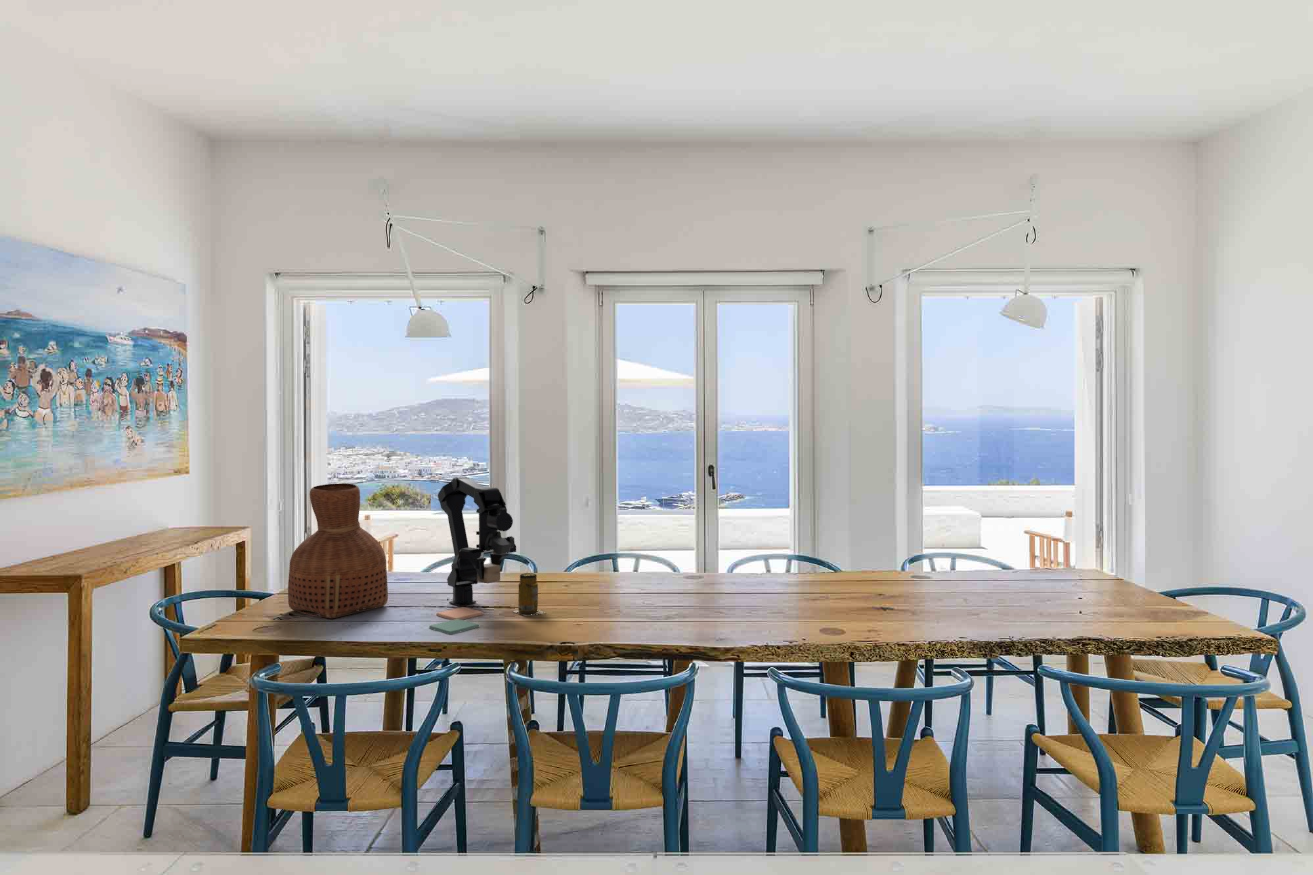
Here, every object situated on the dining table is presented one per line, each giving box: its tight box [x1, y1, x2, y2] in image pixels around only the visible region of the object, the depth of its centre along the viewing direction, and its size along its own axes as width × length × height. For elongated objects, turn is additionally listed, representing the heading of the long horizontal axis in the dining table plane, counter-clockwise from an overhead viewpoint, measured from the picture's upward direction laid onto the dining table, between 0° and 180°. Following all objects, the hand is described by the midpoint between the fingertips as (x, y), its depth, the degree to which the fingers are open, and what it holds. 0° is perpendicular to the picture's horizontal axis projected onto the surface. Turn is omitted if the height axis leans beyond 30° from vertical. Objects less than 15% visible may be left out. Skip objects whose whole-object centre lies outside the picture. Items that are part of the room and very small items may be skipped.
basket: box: [287, 482, 389, 619], centre depth 244 cm, size 28×28×40 cm
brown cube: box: [477, 562, 501, 584], centre depth 239 cm, size 5×5×5 cm
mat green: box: [429, 619, 480, 635], centre depth 222 cm, size 10×10×1 cm
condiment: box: [512, 572, 546, 617], centre depth 240 cm, size 7×8×12 cm
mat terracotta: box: [435, 606, 484, 621], centre depth 237 cm, size 10×10×1 cm
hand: (488, 577), depth 239 cm, fingers closed on brown cube, 5 cm apart
